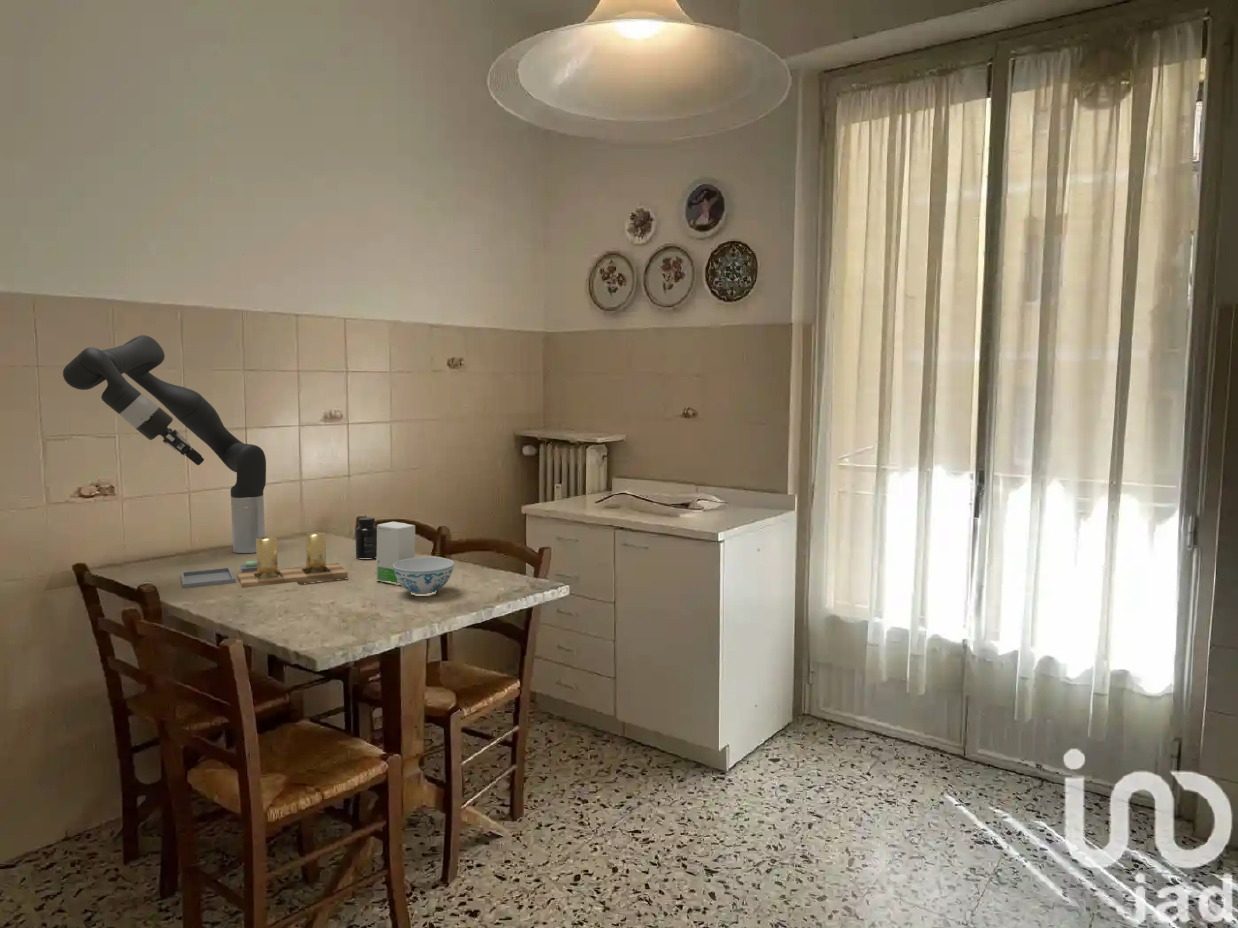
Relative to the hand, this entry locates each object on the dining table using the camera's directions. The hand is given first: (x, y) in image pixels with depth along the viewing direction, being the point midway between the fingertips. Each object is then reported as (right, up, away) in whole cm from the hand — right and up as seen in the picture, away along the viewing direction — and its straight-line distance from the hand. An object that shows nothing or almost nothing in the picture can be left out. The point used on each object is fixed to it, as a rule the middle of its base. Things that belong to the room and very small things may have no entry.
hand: (200, 461), depth 209 cm
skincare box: (+47, -33, +11) cm, 58 cm away
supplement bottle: (+31, -29, +38) cm, 57 cm away
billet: (+14, -32, +7) cm, 36 cm away
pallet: (+19, -32, +11) cm, 39 cm away
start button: (+6, -29, +15) cm, 33 cm away
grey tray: (-1, -32, +7) cm, 33 cm away
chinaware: (+57, -34, -1) cm, 67 cm away
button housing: (+6, -31, +15) cm, 35 cm away
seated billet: (+25, -32, +14) cm, 42 cm away
